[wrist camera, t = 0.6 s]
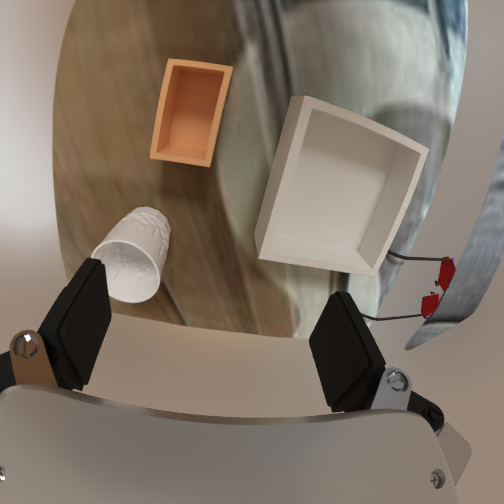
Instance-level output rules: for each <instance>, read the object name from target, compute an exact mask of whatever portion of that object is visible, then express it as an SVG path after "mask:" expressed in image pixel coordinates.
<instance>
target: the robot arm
mask: <svg viewBox="0 0 504 504" xmlns="http://www.w3.org/2000/svg"><path fill="white" fill-rule="evenodd" d="M111 315H112V314H111V307H110V300H109V293H108V286H107V277H106V267H105V264H102V262H101V260H100V259H94V258H89V257H88V258H86V260H85V261H84V262H83V264H82V265H81V267H80V268H79V269H78V271H77V272H76V274H75V275H74V277H73V278H72V280H71V281H70V282H69V284H68V286H66V287H65V288H64V289H63V290H62V292H61V293H60V295H59V296H58V298H57V299H56V301H55V302H54V304H53V306H52V307H51V309H50V311H49V312H48V314H47V316H46V317H45V319H44V321H43V322H42V324H41V326H40V328H39V329H38V331H37V332H35V331H33V330H24V331H21V332H19V333H17V334H16V335H15V336H14V337H13V339H12V340H11V343H10V351H8V352H5V353H3V354H1V355H0V504H459V500H458V496H457V493H456V489H455V486H456V484H457V482H458V480H459V479H460V477H461V475H462V473H463V471H464V469H465V467H466V465H467V463H468V461H469V459H470V457H471V454H472V453H471V447H470V445H469V443H468V442H467V441H466V440H465V439H464V438H463V437H462V436H461V435H460V434H459V433H458V432H457V431H456V430H455V429H454V428H453V427H452V426H451V425H450V424H449V423H448V422H446V423H444V415H443V412H442V410H441V409H440V408H439V407H438V406H437V405H435V404H434V403H432V402H430V401H429V400H427V399H425V398H423V397H422V396H420V395H418V394H417V393H415V392H413V391H412V390H411V388H412V384H411V380H410V378H409V376H408V375H407V374H406V373H405V372H404V371H402V370H400V369H399V368H394V367H391V368H388V369H386V368H385V364H386V362H385V360H384V358H383V356H382V354H381V352H380V350H379V348H378V346H377V344H376V342H375V340H374V338H373V336H372V334H371V332H370V330H369V328H368V326H367V325H366V323H365V321H364V319H363V317H362V315H361V313H360V311H359V310H358V308H357V306H356V304H355V302H354V300H353V299H352V297H351V295H350V294H349V293H348V292H339V291H337V292H335V293H334V294H332V295H331V296H330V297H329V299H328V301H327V304H326V306H325V308H324V310H323V312H322V314H321V316H320V318H319V320H318V322H317V324H316V326H315V328H314V330H313V332H312V334H311V336H310V339H309V344H310V348H311V351H312V354H313V358H314V361H315V364H316V368H317V371H318V375H319V378H320V381H321V385H322V388H323V392H324V395H325V399H326V402H327V405H328V406H331V410H332V412H333V413H334V412H343V411H344V412H345V413H338V414H328V415H317V416H304V417H283V418H239V417H218V416H205V415H194V414H185V413H177V412H169V411H162V410H156V409H150V408H144V407H139V406H134V405H128V404H124V403H119V402H115V401H110V400H106V399H102V398H98V397H94V396H90V395H86V394H83V393H79V392H75V391H72V390H73V389H77V390H80V391H82V389H83V386H84V385H87V384H88V382H89V379H90V376H91V373H92V370H93V367H94V364H95V361H96V359H97V356H98V353H99V350H100V347H101V345H102V342H103V339H104V337H105V334H106V331H107V329H108V327H109V324H110V321H111Z"/></svg>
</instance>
